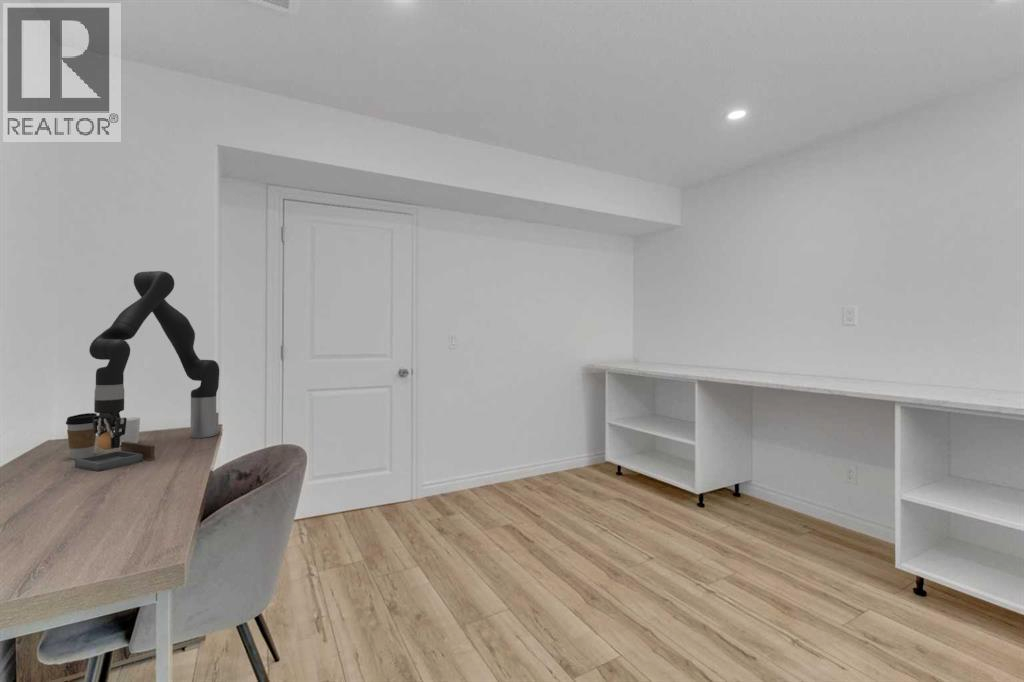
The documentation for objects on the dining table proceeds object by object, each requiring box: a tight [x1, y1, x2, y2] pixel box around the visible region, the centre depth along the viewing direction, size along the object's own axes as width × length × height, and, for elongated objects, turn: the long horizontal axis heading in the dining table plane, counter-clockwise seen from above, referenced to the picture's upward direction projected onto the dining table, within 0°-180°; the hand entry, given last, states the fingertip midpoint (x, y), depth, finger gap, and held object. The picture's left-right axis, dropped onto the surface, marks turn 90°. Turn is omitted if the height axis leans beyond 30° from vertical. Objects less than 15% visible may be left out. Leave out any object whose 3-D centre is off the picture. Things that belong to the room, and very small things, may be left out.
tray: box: [74, 450, 143, 472], centre depth 151 cm, size 13×13×2 cm
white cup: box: [114, 416, 141, 447], centre depth 178 cm, size 8×8×10 cm
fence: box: [120, 441, 156, 461], centre depth 159 cm, size 1×16×5 cm, turn 71°
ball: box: [96, 431, 121, 451], centre depth 151 cm, size 6×6×6 cm
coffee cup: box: [65, 412, 98, 460], centre depth 159 cm, size 8×8×15 cm
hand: (109, 446), depth 151 cm, fingers closed on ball, 6 cm apart
